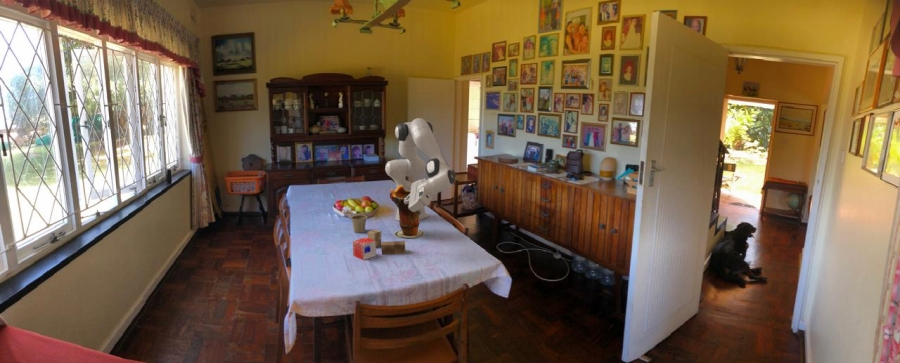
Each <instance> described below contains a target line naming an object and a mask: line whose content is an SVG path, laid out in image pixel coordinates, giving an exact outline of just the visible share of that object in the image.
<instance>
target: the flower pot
mask: <svg viewBox="0 0 900 363" xmlns="http://www.w3.org/2000/svg"><path fill="white" fill-rule="evenodd" d="M350 219H351V221H352V226H353V227H352V228H353V232H354V233H357V234H359V233H364V232H365V231H366V222H367V219H368V216H367V215H364V214H357V215H356V214H355V215H353V216H351V217H350Z"/></svg>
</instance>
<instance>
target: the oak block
mask: <svg viewBox="0 0 900 363" xmlns="http://www.w3.org/2000/svg"><path fill="white" fill-rule="evenodd" d="M367 238H369V239H372V240H375V245H376V248H378V247H382V231H381V230H378V229H371V230H370V231H367Z"/></svg>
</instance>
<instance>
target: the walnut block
mask: <svg viewBox="0 0 900 363" xmlns="http://www.w3.org/2000/svg"><path fill="white" fill-rule="evenodd" d="M406 251H407V250H406V241H405V240H400V241H399V240H397V241H395V240H394V241H381V255H403V254H404V255H406Z"/></svg>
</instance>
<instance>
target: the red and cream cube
mask: <svg viewBox="0 0 900 363" xmlns="http://www.w3.org/2000/svg"><path fill="white" fill-rule="evenodd" d="M376 248H377V247H376V245H375V240H372V239H369V238H368V237H365V236H364V237H362V238H358V239H355V240H353V241H352V255H353V257H354V256H355V257H354V258H358V259H360V260H363V261H365V260H367V259H369V258H372V257H375V256H377V253H376V252H377V250H376Z"/></svg>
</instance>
